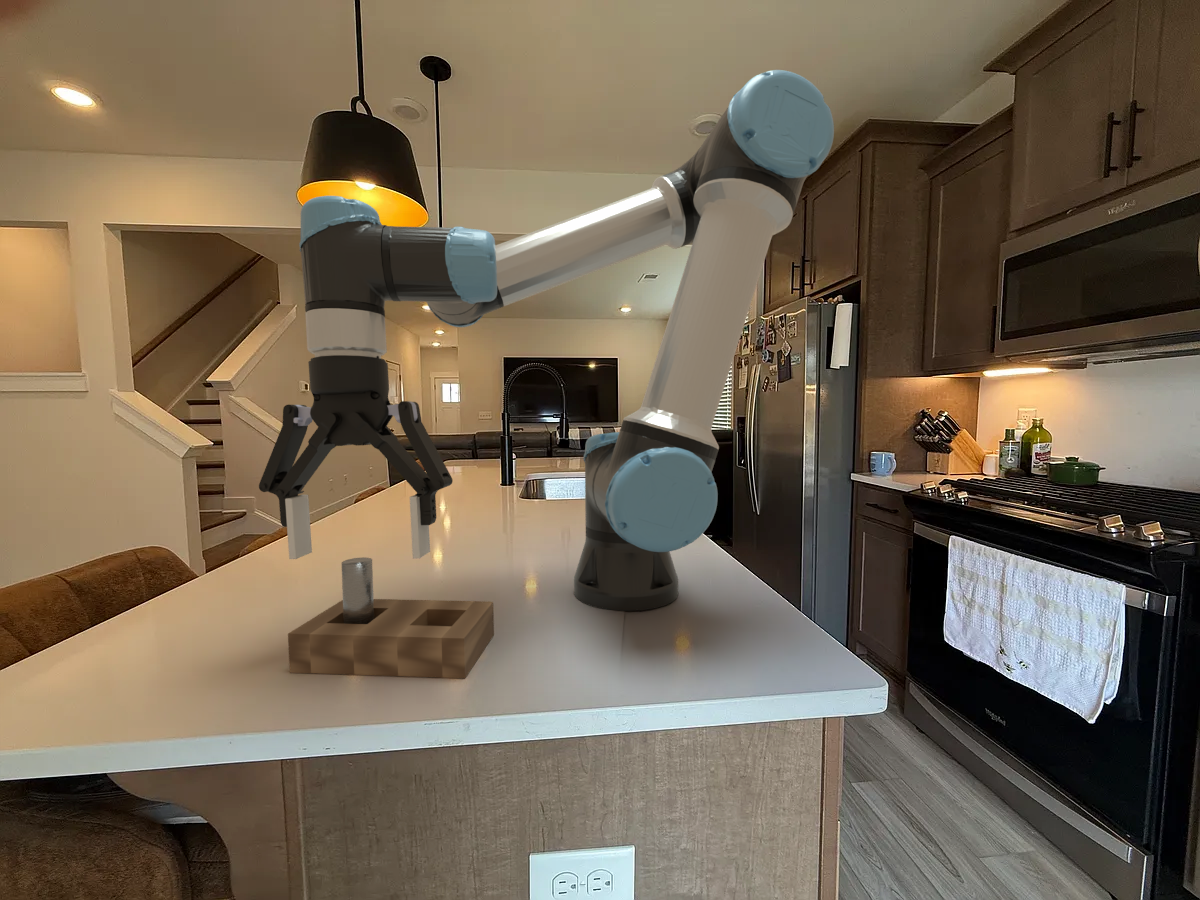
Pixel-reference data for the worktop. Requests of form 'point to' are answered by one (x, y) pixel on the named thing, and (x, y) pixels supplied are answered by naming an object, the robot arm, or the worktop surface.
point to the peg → (357, 591)
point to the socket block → (395, 640)
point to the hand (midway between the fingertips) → (360, 555)
